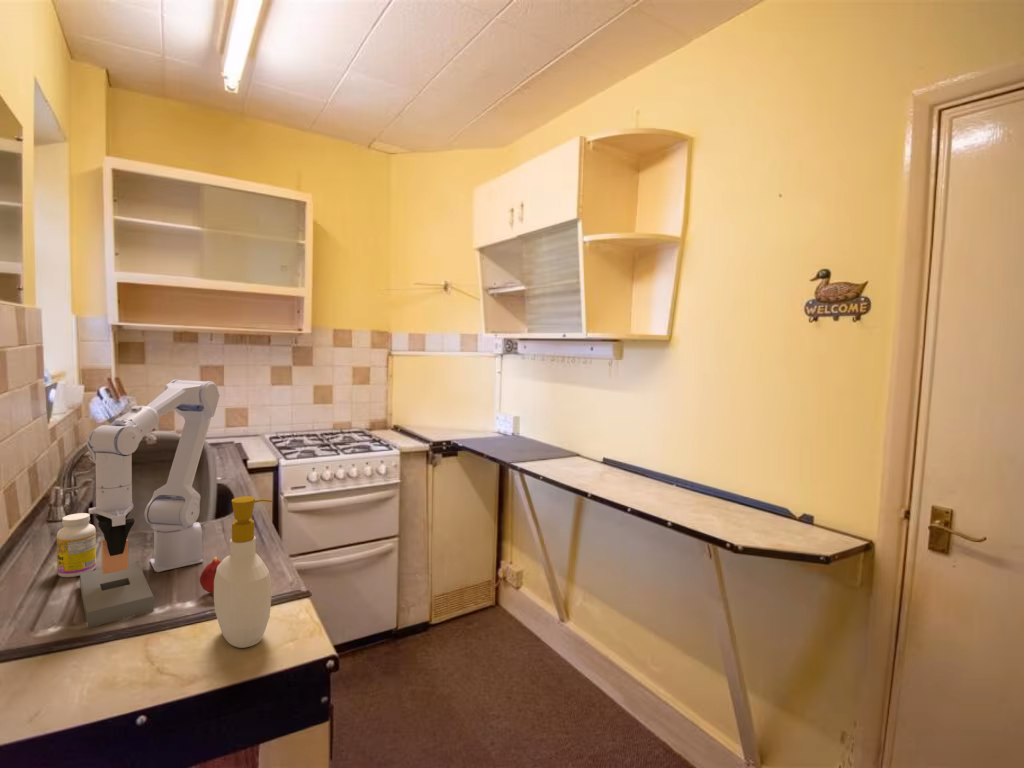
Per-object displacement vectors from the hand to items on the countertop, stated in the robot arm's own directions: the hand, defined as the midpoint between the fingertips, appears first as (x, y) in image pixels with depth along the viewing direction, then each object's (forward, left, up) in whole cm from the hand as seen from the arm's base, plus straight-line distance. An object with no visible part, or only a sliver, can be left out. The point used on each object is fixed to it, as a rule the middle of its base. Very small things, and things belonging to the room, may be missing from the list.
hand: (114, 550), depth 104 cm
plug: (0, 0, -4) cm, 4 cm away
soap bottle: (-16, +30, -10) cm, 36 cm away
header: (0, 0, -10) cm, 10 cm away
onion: (-16, +10, -10) cm, 22 cm away
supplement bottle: (+5, -19, -10) cm, 22 cm away
